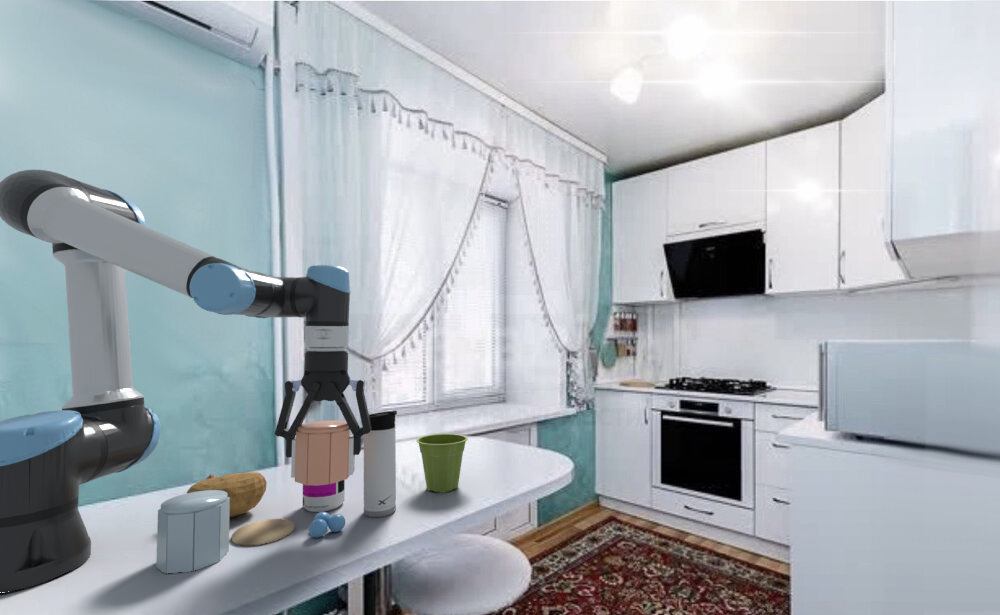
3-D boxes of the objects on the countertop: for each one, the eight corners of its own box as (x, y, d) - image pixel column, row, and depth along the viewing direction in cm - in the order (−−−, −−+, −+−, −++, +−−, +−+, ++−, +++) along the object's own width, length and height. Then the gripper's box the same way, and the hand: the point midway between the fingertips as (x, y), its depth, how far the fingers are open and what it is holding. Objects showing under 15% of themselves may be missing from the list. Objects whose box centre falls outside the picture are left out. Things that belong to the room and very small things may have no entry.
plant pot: (477, 489, 105) (477, 439, 106) (430, 500, 98) (430, 447, 99) (453, 476, 115) (452, 431, 115) (408, 486, 108) (408, 437, 109)
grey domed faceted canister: (146, 576, 69) (147, 512, 69) (177, 548, 77) (178, 492, 78) (212, 569, 70) (213, 507, 71) (235, 543, 79) (236, 488, 80)
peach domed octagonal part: (290, 486, 78) (292, 430, 79) (303, 470, 87) (304, 421, 88) (345, 483, 80) (346, 429, 81) (352, 468, 89) (353, 419, 89)
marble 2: (307, 541, 80) (307, 523, 80) (311, 533, 82) (311, 516, 83) (325, 539, 80) (325, 521, 80) (328, 532, 83) (328, 515, 83)
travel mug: (389, 518, 89) (388, 413, 90) (357, 516, 90) (357, 413, 91) (402, 506, 95) (402, 408, 96) (372, 505, 96) (372, 408, 97)
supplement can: (319, 516, 91) (320, 438, 92) (294, 508, 95) (294, 434, 96) (352, 503, 98) (353, 431, 98) (327, 496, 102) (327, 427, 103)
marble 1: (311, 533, 83) (311, 516, 83) (315, 526, 86) (315, 510, 86) (329, 531, 83) (329, 514, 83) (332, 525, 86) (332, 508, 86)
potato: (188, 514, 93) (189, 474, 93) (267, 503, 99) (267, 465, 99) (178, 533, 84) (179, 488, 84) (265, 519, 90) (265, 477, 90)
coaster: (222, 548, 77) (222, 544, 77) (244, 524, 87) (244, 521, 87) (285, 542, 79) (285, 539, 79) (300, 520, 89) (300, 516, 89)
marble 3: (326, 535, 82) (326, 518, 82) (329, 528, 85) (329, 512, 85) (344, 534, 82) (344, 516, 82) (346, 527, 85) (346, 510, 85)
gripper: (256, 350, 79) (251, 483, 78) (385, 350, 83) (383, 477, 82) (270, 349, 87) (266, 470, 85) (388, 349, 91) (386, 465, 89)
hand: (323, 473), depth 84 cm, fingers closed on peach domed octagonal part, 9 cm apart
